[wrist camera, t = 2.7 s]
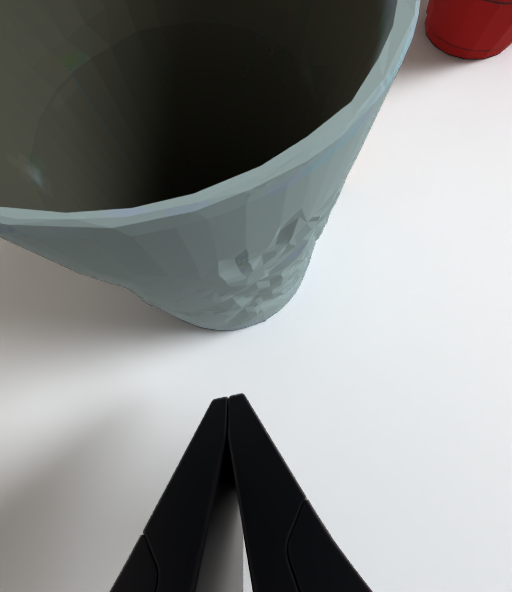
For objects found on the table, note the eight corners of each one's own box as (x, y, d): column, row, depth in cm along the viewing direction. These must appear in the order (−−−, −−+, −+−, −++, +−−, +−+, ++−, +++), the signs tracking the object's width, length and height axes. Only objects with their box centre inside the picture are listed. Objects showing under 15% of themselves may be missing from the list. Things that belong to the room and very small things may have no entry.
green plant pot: (358, 260, 16) (556, -46, 5) (211, 394, 15) (-1, 404, 3) (233, 148, 19) (173, -224, 7) (96, 252, 17) (-247, -19, 6)
